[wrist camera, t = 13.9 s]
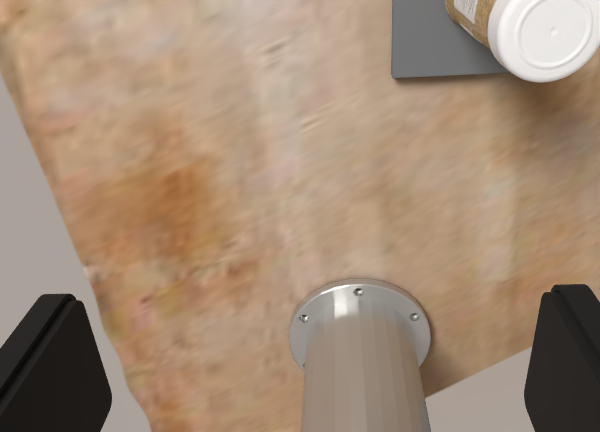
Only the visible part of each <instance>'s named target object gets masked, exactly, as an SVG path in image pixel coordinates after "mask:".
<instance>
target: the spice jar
mask: <svg viewBox="0 0 600 432" xmlns="http://www.w3.org/2000/svg"><path fill="white" fill-rule="evenodd" d="M445 7H446V10H447V12H448V14H449V15H450V17H451V18H452V20H453V21H455V22H456V23H457V24H459V25H460V26H462V27H463V28H464V29H465V30H466V31H467V32H468V33H469V34H470V35H472V36H473V37H474V38H475V39H476V40H478V41H479V42H481V43H483V44H484V45H485V46H486V47H488V48H489V49H490V50H491V51H492V53H493V55H494V57H495V58H496V60H497V61H498V62H499V63H500V64H501V65H502V66H503V67H505V68H506V69H507V70H508V71H510V72H511V73H512V74H514V75H516V76H517V77H519V78H521V79H523V80H527V81H531V82H539V83H542V82H551V81H556V80H559V79H562V78H565V77H567V76H569V75H571V74H572V73H574V72H576V71H577V70H578V69H580V68H581V67H582V66H584V65H585V64H586V63H587V62H588V61H589V60H590V58H591V57H592V56H593V55H594V54H595V52H596V51H597V49H598V47H599V45H600V0H445Z"/></svg>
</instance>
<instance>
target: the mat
mask: <svg viewBox="0 0 600 432" xmlns="http://www.w3.org/2000/svg"><path fill="white" fill-rule="evenodd" d="M490 73H511V72H510V71H508V70H507V69H506V68H505V67H503V66H502V65H501V64H500V63H499V62H498V61H497V60H496V58H495V57H494V55H493V53H492V51H491V50H490V49H489V48H488V47H486V46H485V45H484V44H483V43H481V42H479V41H478V40H476V39H475V38H474V37H473V36H472V35H470V34H469V33H468V32H467V31H466V30H465V29H464V28H463V27H462V26H460V25H459V24H457V23H456V22H455V21H453V20H452V18H451V17H450V15H449V14H448V12H447V10H446V7H445V0H393V6H392V60H391V75H392V78H404V77H425V76H447V75H468V74H490Z"/></svg>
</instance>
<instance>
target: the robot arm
mask: <svg viewBox="0 0 600 432" xmlns="http://www.w3.org/2000/svg"><path fill="white" fill-rule="evenodd" d="M430 342H431V335H430V327H429V323H428V319H427V317H426V315H425V312H424V310H423V309H422V307H421V306H420V305H419V303H418V302H417V301H416V300H415V299H414V298H413V297H412V296H411V295H409V294H408V293H407V292H406V291H404V290H402V289H400V288H398V287H397V286H395V285H392V284H389V283H386V282H383V281H378V280H373V279H348V280H341V281H337V282H334V283H331V284H328V285H326V286H324V287H322V288H320V289H318V290H316V291H314V292H313V293H312V294H310V295H309V296H308V297H306V298H305V299H304V301H303V302H302V303H301V304H300V305H299V306H298V308H297V310H296V311H295V313H294V315H293V317H292V321H291V324H290V332H289V344H290V349H291V352H292V355H293V358H294V359H295V361H296V362H297V364H298V366H299V367H300V368H301V369H302V370H303V371H304V386H303V402H302V418H301V432H431V429H430V424H429V418H428V413H427V408H426V402H425V397H424V392H423V386H422V381H421V376H420V371H419V367H420V366H421V364H422V363H423V362H424V360H425V358H426V356H427V354H428V352H429V348H430ZM524 398H525V405H526V409H527V412H528V414H529V417H530V420H531V422H532V424H533V427H534V430H535V432H600V302H599V301H598V299H597V298H596V296H595V295H594V293H593V292H592V290H591V289H590V288H589V287H588V286H587V285H585V284H571V285H554V286H553V288H552V289H551V292H545V293H544V294H543V295H542V299H541V304H540V309H539V314H538V320H537V325H536V331H535V336H534V341H533V347H532V352H531V357H530V363H529V368H528V374H527V379H526V384H525V390H524ZM111 403H112V393H111V389H110V386H109V383H108V380H107V377H106V374H105V370H104V367H103V364H102V361H101V358H100V354H99V351H98V348H97V345H96V342H95V339H94V335H93V332H92V329H91V326H90V322H89V319H88V316H87V313H86V310H85V307H84V304H83V303H82V301H79V300H78V301H77V300H76V298H75V297H74V296H73V295H72V294H44V295H42V296H40V297H39V298H38V300H37V301H36V302H35V304H34V305H33V306H32V308H31V309H30V310H29V311H28V313H27V314H26V315H25V317H24V318H23V319H22V321H21V322H20V323H19V325H18V326H17V327H16V329H15V330H14V331H13V333H12V334H11V335H10V336H9V338H8V339H7V341H6V342H5V343H4V344H3V346H2V347H1V348H0V432H100V431H101V429H102V427H103V424H104V422H105V420H106V418H107V415H108V413H109V411H110V408H111Z"/></svg>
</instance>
